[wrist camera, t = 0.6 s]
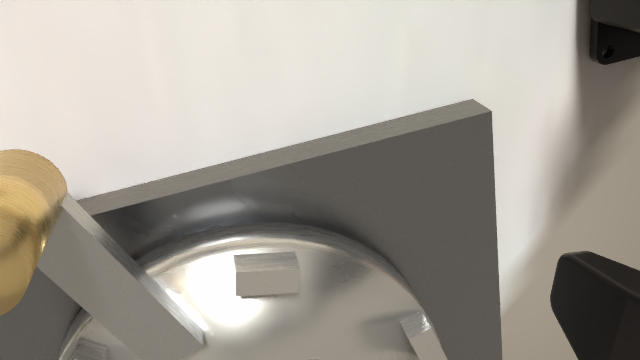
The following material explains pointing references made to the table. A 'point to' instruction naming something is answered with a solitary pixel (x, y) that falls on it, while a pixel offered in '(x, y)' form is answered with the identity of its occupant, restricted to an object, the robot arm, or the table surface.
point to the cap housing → (327, 220)
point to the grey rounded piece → (204, 285)
